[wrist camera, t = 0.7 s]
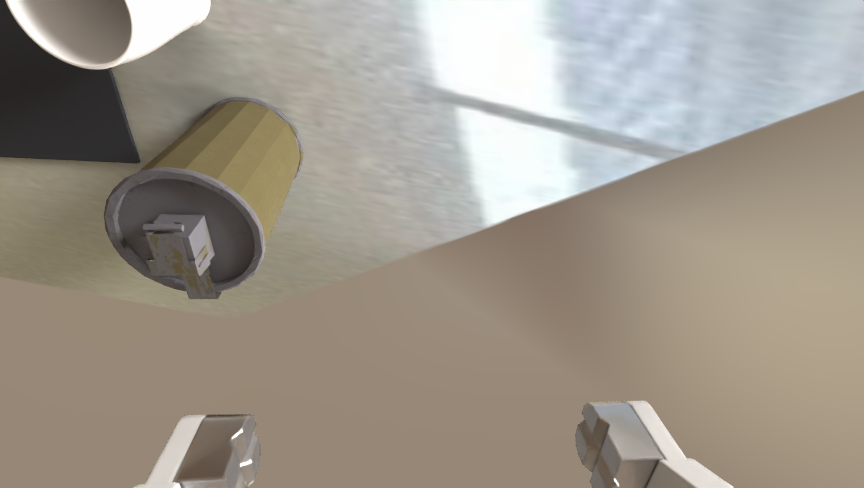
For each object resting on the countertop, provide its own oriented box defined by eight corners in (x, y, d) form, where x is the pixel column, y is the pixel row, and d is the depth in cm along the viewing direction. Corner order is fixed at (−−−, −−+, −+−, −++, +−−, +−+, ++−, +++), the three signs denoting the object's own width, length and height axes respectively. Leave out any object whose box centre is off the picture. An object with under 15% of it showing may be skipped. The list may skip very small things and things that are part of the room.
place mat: (-160, -103, 31) (-166, -104, 30) (64, -78, 33) (61, -79, 32) (-21, 154, 42) (-25, 155, 41) (140, 162, 44) (138, 163, 43)
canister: (187, 94, 40) (49, 185, 24) (297, 99, 42) (239, 190, 25) (211, 194, 46) (115, 322, 30) (307, 197, 48) (266, 321, 31)
